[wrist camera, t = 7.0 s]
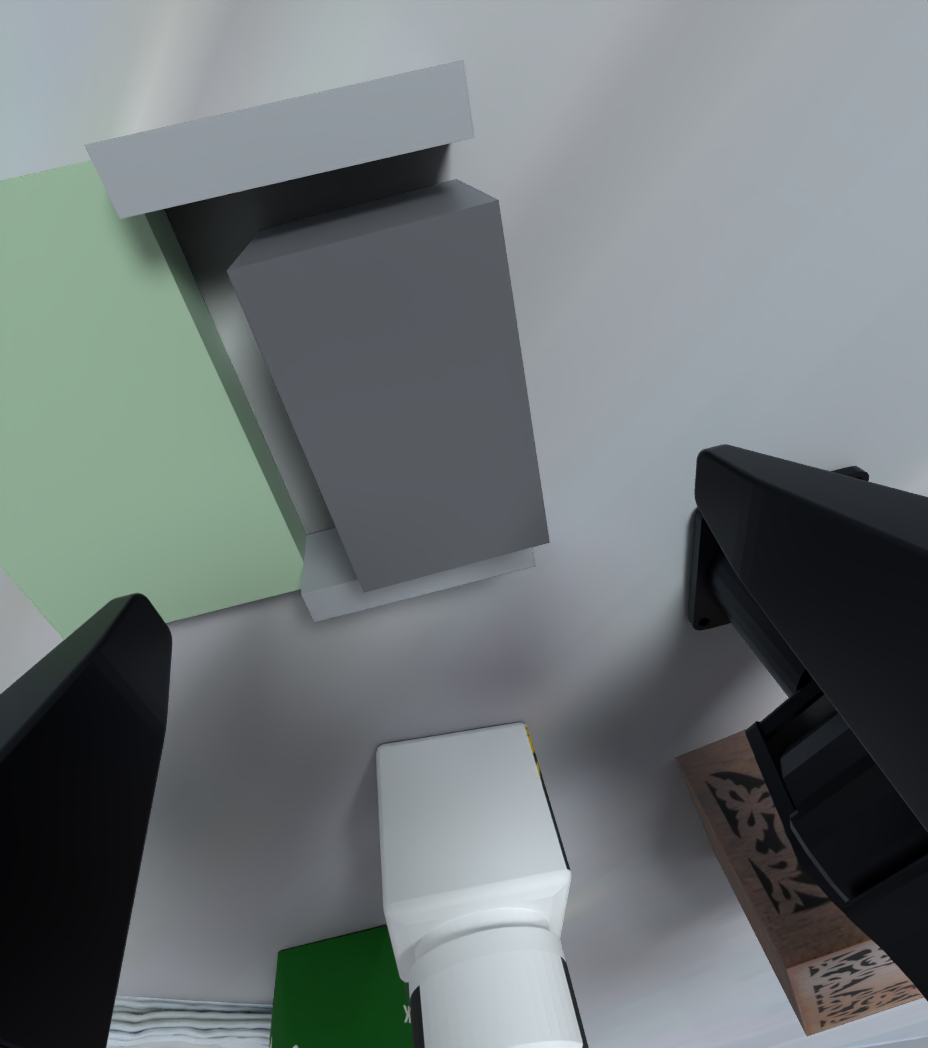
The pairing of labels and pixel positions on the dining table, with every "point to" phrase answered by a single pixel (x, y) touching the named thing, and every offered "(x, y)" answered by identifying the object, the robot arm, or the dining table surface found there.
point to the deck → (172, 368)
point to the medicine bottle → (476, 891)
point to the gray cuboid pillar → (402, 376)
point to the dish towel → (188, 1024)
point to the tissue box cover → (787, 896)
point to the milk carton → (341, 995)
